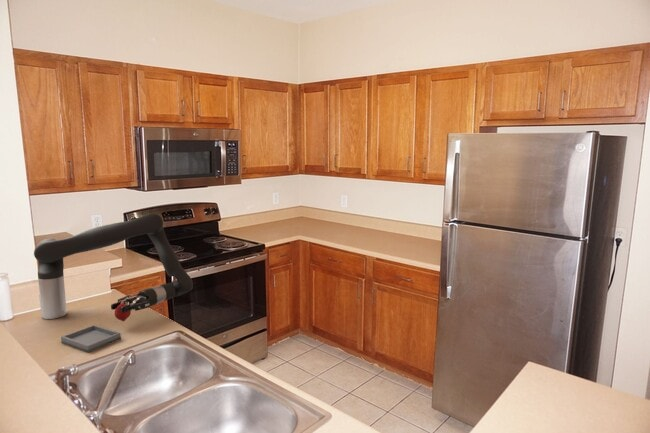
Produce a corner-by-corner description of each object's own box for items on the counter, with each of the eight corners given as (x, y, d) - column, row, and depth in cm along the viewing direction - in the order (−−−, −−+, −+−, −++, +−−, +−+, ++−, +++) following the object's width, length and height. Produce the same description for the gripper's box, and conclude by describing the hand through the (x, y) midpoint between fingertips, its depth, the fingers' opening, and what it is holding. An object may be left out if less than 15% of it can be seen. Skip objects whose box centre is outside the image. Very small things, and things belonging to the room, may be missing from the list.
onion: (124, 324, 171) (123, 305, 170) (111, 323, 172) (110, 303, 171) (134, 319, 176) (133, 300, 175) (121, 317, 178) (120, 299, 176)
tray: (61, 343, 161) (60, 336, 160) (94, 330, 172) (94, 324, 172) (88, 352, 153) (87, 346, 153) (121, 339, 164) (120, 332, 164)
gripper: (140, 285, 189) (104, 296, 174) (163, 290, 182) (128, 302, 167) (141, 301, 190) (105, 314, 175) (164, 308, 183) (129, 321, 168)
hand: (116, 308), depth 171 cm, fingers closed on onion, 5 cm apart
